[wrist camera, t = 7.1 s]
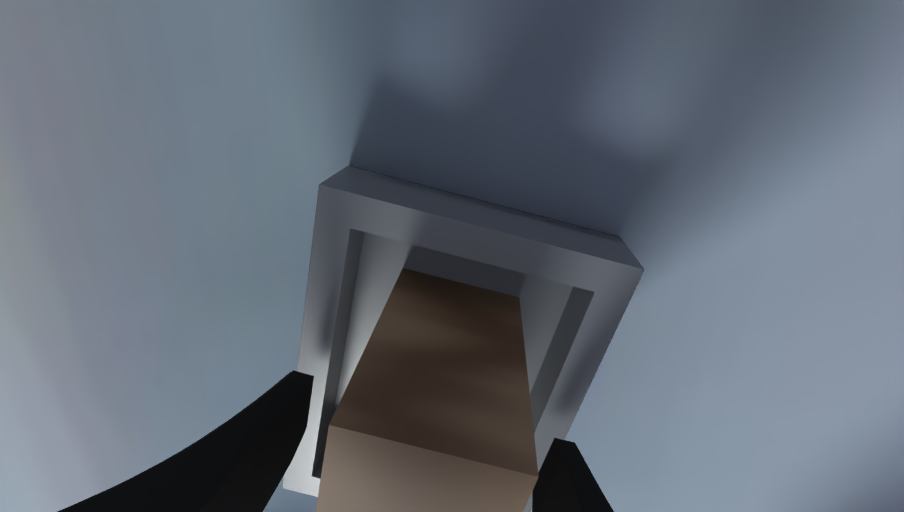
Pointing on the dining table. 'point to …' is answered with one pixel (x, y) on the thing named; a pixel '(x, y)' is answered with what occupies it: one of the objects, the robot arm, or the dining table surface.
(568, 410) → the grey shallow tray
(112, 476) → the dining table surface
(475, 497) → the brown block
